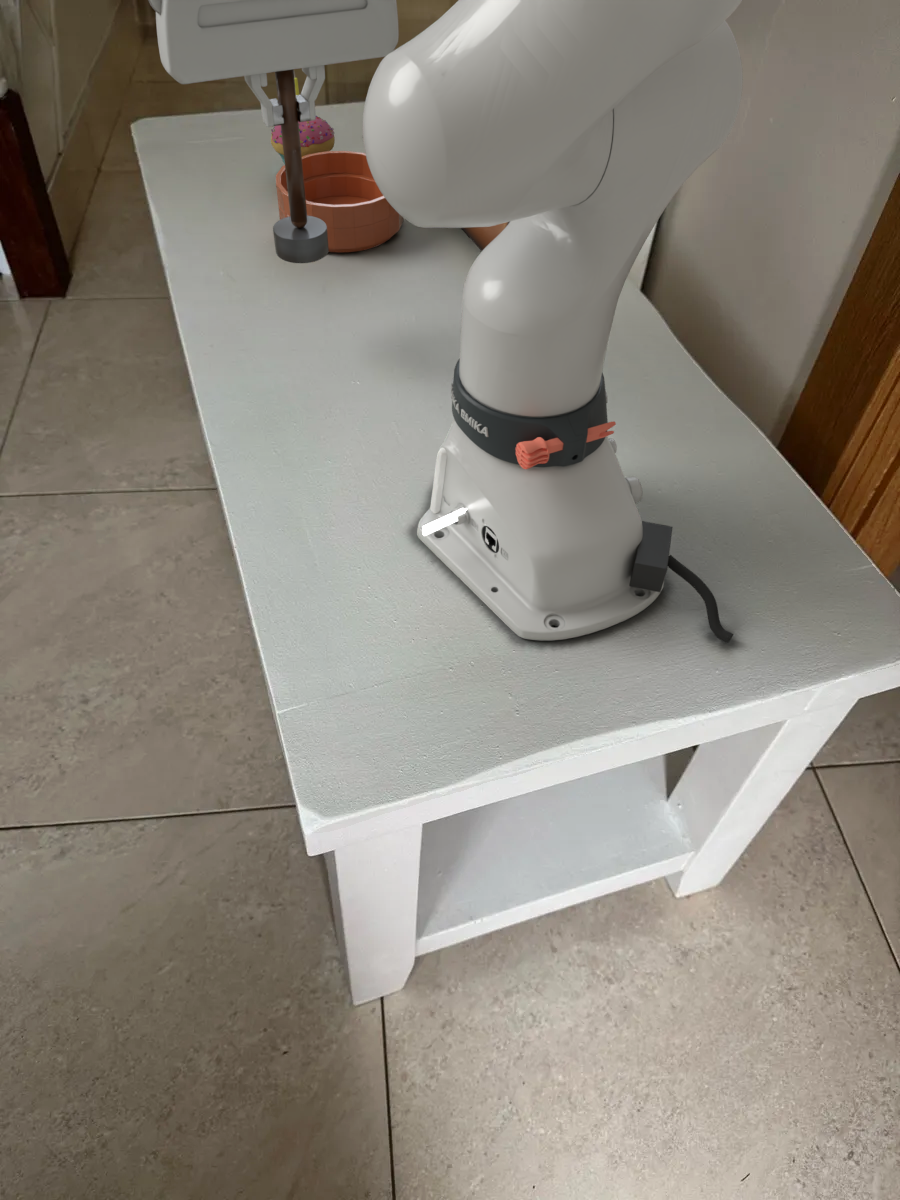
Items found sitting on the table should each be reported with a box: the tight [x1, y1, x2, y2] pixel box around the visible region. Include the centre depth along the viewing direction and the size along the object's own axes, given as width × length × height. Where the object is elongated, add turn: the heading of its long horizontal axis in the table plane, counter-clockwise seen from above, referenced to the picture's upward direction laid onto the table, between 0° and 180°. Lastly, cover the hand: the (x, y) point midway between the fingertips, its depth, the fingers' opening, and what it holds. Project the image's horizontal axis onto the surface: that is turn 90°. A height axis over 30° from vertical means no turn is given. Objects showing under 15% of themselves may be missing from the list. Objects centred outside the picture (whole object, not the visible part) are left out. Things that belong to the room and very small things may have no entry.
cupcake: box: [270, 70, 336, 166], centre depth 122 cm, size 9×8×12 cm
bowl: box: [275, 150, 404, 253], centre depth 115 cm, size 15×15×6 cm
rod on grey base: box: [272, 69, 329, 264], centre depth 86 cm, size 5×5×18 cm
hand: (289, 121), depth 83 cm, fingers closed on rod on grey base
